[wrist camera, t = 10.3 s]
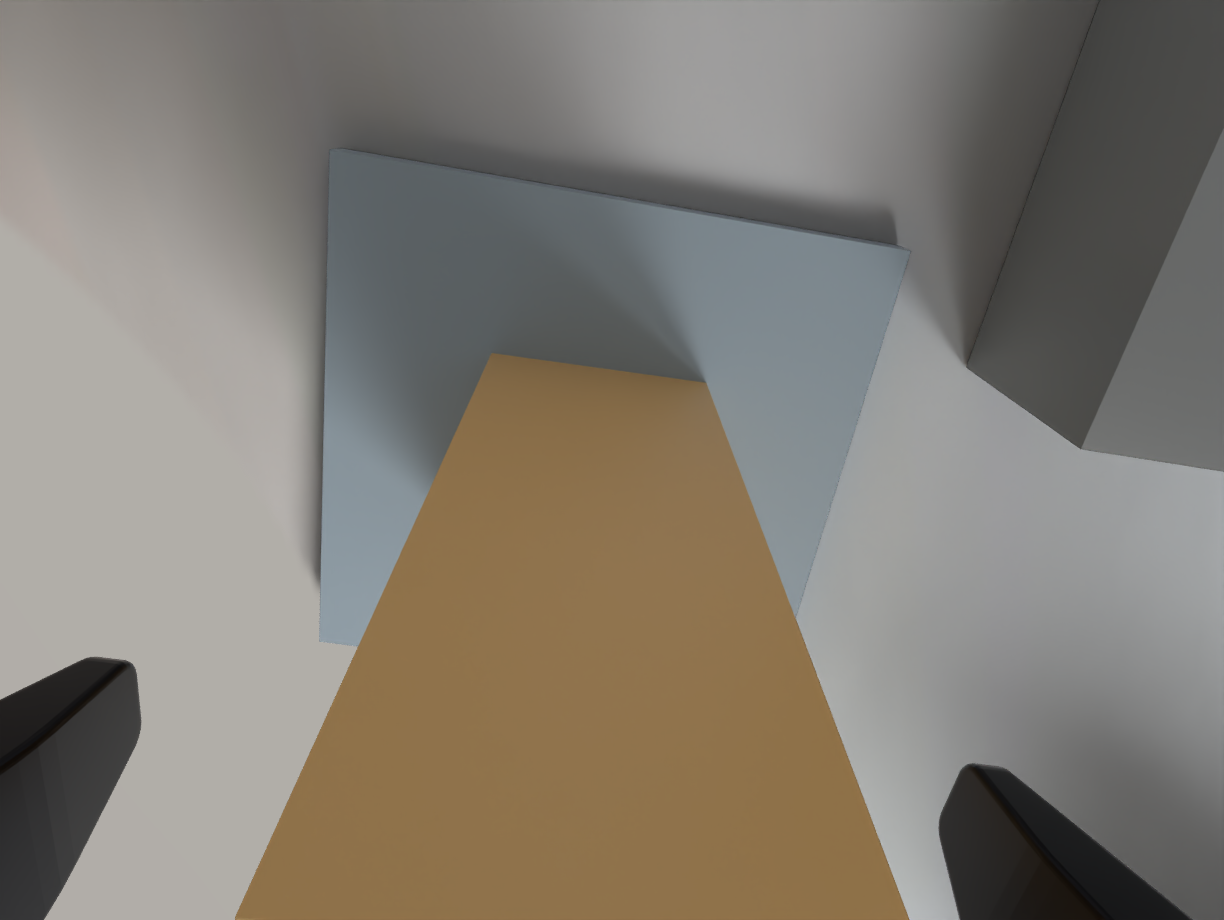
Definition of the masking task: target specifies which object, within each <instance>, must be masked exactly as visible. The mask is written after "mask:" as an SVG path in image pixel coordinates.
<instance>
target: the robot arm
mask: <svg viewBox="0 0 1224 920" xmlns="http://www.w3.org/2000/svg"><path fill="white" fill-rule="evenodd" d="M140 730H141V714H140V702H139V693H138V682H137V674H136V669H135V667H134V666H133V664H132V663H130V662H128V661H126V660H119V659H111V658H102V657H89V658H86V659H83V660H81V661H79V662H77V663H74V664H72V665H71V666H68V667H66V668H64V669H62V670H60V671H58V672H56V673H54V674H52V675H50V676H48V677H46V678H44V679H42V680H40V681H38V682H36V683H34V684H31V685H29V686H27V687H25V688H23V689H21V690H19V691H17V692H15V693H13V694H11V695H9V696H7V697H5V698H3V699H1V700H0V920H44V919H45V917H46V916H47V914H48V912H49V911H50V909H51V907H52V906H53V904H54V902H55V901H56V899H57V897H58V896H59V894H60V892H61V891H62V889H63V887H64V885H65V883H66V882H67V880H68V878H69V876H70V874H71V872H72V870H73V868H74V866H75V865H76V863H77V861H78V859H79V857H80V855H81V853H82V851H83V849H84V847H85V845H86V843H87V841H88V839H89V837H90V835H91V833H92V831H93V829H94V827H95V825H96V823H97V821H98V819H99V817H100V815H101V813H102V811H103V809H104V807H105V806H106V804H107V802H108V799H109V798H110V796H111V794H112V792H113V790H114V788H115V786H116V784H117V782H118V780H119V778H120V776H121V774H122V772H123V770H124V768H125V766H126V764H127V762H128V760H129V758H130V756H131V754H132V752H133V750H134V748H135V746H136V744H137V741H138V738H139V734H140ZM939 836H940V841H941V845H942V849H943V853H944V858H945V862H946V866H947V870H948V874H949V878H950V882H951V886H952V890H953V894H954V898H955V902H956V906H957V910H958V914H959V919H960V920H1192V919H1191V918H1190V917H1189V916H1188V915H1186V914H1185V913H1184V912H1183V911H1181V910H1180V909H1179V908H1178V907H1176V906H1175V905H1174V904H1173V903H1171V902H1170V901H1169V900H1168V899H1167V898H1165V897H1164V896H1163V895H1162V894H1160V893H1159V892H1158V891H1157V890H1155V889H1154V888H1153V887H1152V886H1150V885H1149V884H1148V883H1147V882H1146V881H1144V880H1143V879H1142V878H1141V877H1139V876H1138V875H1137V874H1136V873H1134V872H1133V871H1132V870H1131V869H1129V868H1128V867H1127V866H1126V865H1125V864H1123V863H1122V862H1121V861H1120V860H1118V859H1117V858H1116V857H1115V856H1113V855H1112V854H1111V853H1110V852H1108V851H1107V850H1106V849H1105V848H1104V847H1102V846H1101V845H1100V844H1099V843H1097V842H1096V841H1095V840H1094V839H1092V838H1091V837H1090V836H1089V835H1087V834H1086V833H1085V832H1084V831H1083V830H1081V829H1080V828H1079V827H1078V826H1076V825H1075V824H1074V823H1073V822H1071V821H1070V820H1069V819H1068V818H1066V817H1065V816H1064V815H1063V814H1062V813H1060V812H1059V811H1058V810H1057V809H1055V808H1054V807H1053V806H1052V805H1050V804H1049V803H1048V802H1047V801H1045V800H1044V799H1043V798H1042V797H1041V796H1039V795H1038V794H1037V793H1036V792H1034V791H1033V790H1032V789H1031V788H1029V787H1028V786H1027V785H1026V784H1024V783H1023V782H1022V781H1021V780H1020V779H1018V778H1017V777H1016V776H1015V775H1013V774H1012V773H1011V772H1010V771H1008V770H1007V769H1005V768H1002V767H999V766H991V765H983V764H975V763H972V764H967V765H966V766H965V767H963V768H962V769H961V771H960V773H959V775H958V777H957V779H956V781H955V784H954V786H953V788H952V790H951V792H950V794H949V797H948V799H947V801H946V803H945V805H944V807H943V810H942V812H941V815H940V819H939Z"/></svg>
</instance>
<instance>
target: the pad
mask: <svg viewBox="0 0 1224 920" xmlns="http://www.w3.org/2000/svg"><path fill="white" fill-rule="evenodd" d="M910 253H911V251H910V250H907V249H905V248H903V247H901V246H898V245H892V244H886V243H881V242H875V241H869V240H864V239H858V238H852V237H846V236H841V235H835V234H829V233H824V232H818V231H812V230H806V229H801V228H795V227H789V226H784V225H778V224H772V223H766V222H761V221H755V220H749V219H744V218H738V217H732V216H726V215H721V214H715V213H709V212H704V211H698V210H692V209H686V208H681V207H675V206H669V205H664V204H658V203H652V202H646V201H641V200H635V199H629V198H624V197H618V196H612V195H606V194H601V193H595V192H589V191H584V190H578V189H572V188H566V187H561V186H555V185H549V184H544V183H538V182H532V181H526V180H521V179H515V178H509V177H504V176H498V175H492V174H486V173H481V172H475V171H469V170H463V169H458V168H452V167H446V166H441V165H435V164H429V163H423V162H418V161H412V160H406V159H401V158H395V157H389V156H383V155H378V154H372V153H366V152H361V151H355V150H349V149H343V148H337V149H330V150H329V196H328V245H327V294H326V342H325V391H324V439H323V488H322V536H321V585H320V635H319V637H320V638H319V641H320V642H327V643H335V644H343V645H351V646H359V644H360V641H361V639H362V637H363V635H364V633H365V630H366V628H367V626H368V624H369V622H370V619H371V617H372V615H373V613H374V611H375V608H376V606H377V604H378V602H379V600H380V597H381V595H382V593H383V591H384V589H385V586H386V584H387V582H388V580H389V578H390V575H391V573H392V571H393V569H394V567H395V564H396V562H397V560H398V558H399V556H400V553H401V551H402V549H403V547H404V545H405V542H406V540H407V538H408V536H409V534H410V531H411V529H412V527H413V525H414V523H415V520H416V518H417V516H418V514H419V512H420V509H421V507H422V505H423V503H424V501H425V498H426V496H427V494H428V492H429V490H430V487H431V485H432V483H433V481H434V479H435V476H436V474H437V472H438V470H439V468H440V465H441V463H442V461H443V459H444V457H445V454H446V452H447V450H448V448H449V446H450V443H451V441H452V439H453V437H454V435H455V432H456V430H457V428H458V426H459V424H460V421H461V419H462V417H463V415H464V413H465V410H466V408H467V406H468V404H469V402H470V399H471V397H472V395H473V393H474V391H475V388H476V386H477V384H478V382H479V380H480V377H481V375H482V373H483V371H484V369H485V366H486V364H487V362H488V360H489V358H490V355H491V353H495V354H502V355H510V356H517V357H524V358H531V359H539V360H546V361H553V362H560V363H567V364H575V365H582V366H589V367H596V368H604V369H611V370H618V371H625V372H632V373H640V374H647V375H654V376H661V377H669V378H676V379H683V380H690V381H697V382H705V383H707V386H708V389H709V391H710V394H711V396H712V399H713V402H714V404H715V407H716V410H717V412H718V415H719V418H720V420H721V423H722V426H723V428H724V431H725V433H726V436H727V439H728V441H729V444H730V447H731V449H732V452H733V455H734V457H735V460H736V463H737V465H738V468H739V470H740V473H741V476H742V478H743V481H744V484H745V486H746V489H747V492H748V494H749V497H750V500H751V502H752V505H753V507H754V510H755V513H756V515H757V518H758V521H759V523H760V526H761V529H762V531H763V534H764V537H765V539H766V542H767V544H768V547H769V550H770V552H771V555H772V558H773V560H774V563H775V566H776V568H777V571H778V574H779V576H780V579H781V581H782V584H783V587H784V589H785V592H786V595H787V597H788V600H789V603H790V605H791V608H792V611H793V613H794V616H795V618H796V615H797V612H798V609H799V606H800V602H801V599H802V596H803V593H804V590H805V587H806V583H807V580H808V577H809V574H810V571H811V567H812V564H813V561H814V558H815V555H816V552H817V548H818V545H819V542H820V539H821V536H822V533H823V529H824V526H825V523H826V520H827V517H828V513H829V510H830V507H831V504H832V501H833V498H834V494H835V491H836V488H837V485H838V482H839V479H840V475H841V472H842V469H843V466H844V463H845V459H846V456H847V453H848V450H849V447H850V444H851V440H852V437H853V434H854V431H855V428H856V425H857V421H858V418H859V415H860V412H861V409H862V405H863V402H864V399H865V396H866V393H867V390H868V386H869V383H870V380H871V377H872V374H873V371H874V367H875V364H876V361H877V358H878V355H879V351H880V348H881V345H882V342H883V339H884V336H885V332H886V329H887V326H888V323H889V320H890V317H891V313H892V310H893V307H894V304H895V301H896V297H897V294H898V291H899V288H900V285H901V282H902V278H903V275H904V272H905V269H906V266H907V263H908V259H909V256H910Z"/></svg>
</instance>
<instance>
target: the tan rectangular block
mask: <svg viewBox="0 0 1224 920" xmlns="http://www.w3.org/2000/svg"><path fill="white" fill-rule="evenodd" d="M235 920H909V917H908V915H907V912H906V909H905V907H904V904H903V901H902V899H901V896H900V893H899V891H898V888H897V885H896V883H895V880H894V878H893V875H892V872H891V870H890V867H889V864H888V862H887V859H886V856H885V854H884V851H883V848H882V846H881V843H880V841H879V838H878V835H877V833H876V830H875V827H874V825H873V822H872V819H871V817H870V814H869V811H868V809H867V806H866V804H865V801H864V798H863V796H862V793H861V790H860V788H859V785H858V782H857V780H856V777H855V774H854V772H853V769H852V767H851V764H850V761H849V759H848V756H847V753H846V751H845V748H844V745H843V743H842V740H841V737H840V735H839V732H838V730H837V727H836V724H835V722H834V719H833V716H832V714H831V711H830V708H829V706H828V703H827V700H826V698H825V695H824V693H823V690H822V687H821V685H820V682H819V679H818V677H817V674H816V671H815V669H814V666H813V663H812V661H811V658H810V656H809V653H808V650H807V648H806V645H805V642H804V640H803V637H802V634H801V632H800V629H799V626H798V624H797V621H796V619H795V616H794V613H793V611H792V608H791V605H790V603H789V600H788V597H787V595H786V592H785V589H784V587H783V584H782V581H781V579H780V576H779V574H778V571H777V568H776V566H775V563H774V560H773V558H772V555H771V552H770V550H769V547H768V544H767V542H766V539H765V537H764V534H763V531H762V529H761V526H760V523H759V521H758V518H757V515H756V513H755V510H754V507H753V505H752V502H751V500H750V497H749V494H748V492H747V489H746V486H745V484H744V481H743V478H742V476H741V473H740V470H739V468H738V465H737V463H736V460H735V457H734V455H733V452H732V449H731V447H730V444H729V441H728V439H727V436H726V433H725V431H724V428H723V426H722V423H721V420H720V418H719V415H718V412H717V410H716V407H715V404H714V402H713V399H712V396H711V394H710V391H709V389H708V386H707V383H705V382H697V381H690V380H683V379H676V378H669V377H661V376H654V375H647V374H640V373H632V372H625V371H618V370H611V369H604V368H596V367H589V366H582V365H575V364H567V363H560V362H553V361H546V360H539V359H531V358H524V357H517V356H510V355H502V354H495V353H491V355H490V358H489V360H488V362H487V364H486V366H485V369H484V371H483V373H482V375H481V377H480V380H479V382H478V384H477V386H476V388H475V391H474V393H473V395H472V397H471V399H470V402H469V404H468V406H467V408H466V410H465V413H464V415H463V417H462V419H461V421H460V424H459V426H458V428H457V430H456V432H455V435H454V437H453V439H452V441H451V443H450V446H449V448H448V450H447V452H446V454H445V457H444V459H443V461H442V463H441V465H440V468H439V470H438V472H437V474H436V476H435V479H434V481H433V483H432V485H431V487H430V490H429V492H428V494H427V496H426V498H425V501H424V503H423V505H422V507H421V509H420V512H419V514H418V516H417V518H416V520H415V523H414V525H413V527H412V529H411V531H410V534H409V536H408V538H407V540H406V542H405V545H404V547H403V549H402V551H401V553H400V556H399V558H398V560H397V562H396V564H395V567H394V569H393V571H392V573H391V575H390V578H389V580H388V582H387V584H386V586H385V589H384V591H383V593H382V595H381V597H380V600H379V602H378V604H377V606H376V608H375V611H374V613H373V615H372V617H371V619H370V622H369V624H368V626H367V628H366V630H365V633H364V635H363V637H362V639H361V641H360V644H359V646H358V648H357V650H356V653H355V655H354V657H353V659H352V661H351V664H350V666H349V668H348V670H347V672H346V675H345V677H344V679H343V681H342V683H341V685H340V688H339V690H338V692H337V695H336V696H335V699H334V701H333V703H332V706H331V707H330V710H329V712H328V714H327V716H326V719H325V721H324V723H323V725H322V727H321V729H320V732H319V734H318V736H317V738H316V741H315V743H314V745H313V747H312V749H311V751H310V754H309V756H308V758H307V760H306V762H305V765H304V767H303V769H302V771H301V773H300V776H299V778H298V780H297V782H296V785H295V787H294V789H293V791H292V793H291V796H290V798H289V800H288V802H287V804H286V806H285V809H284V811H283V813H282V815H281V818H280V820H279V822H278V824H277V826H276V829H275V831H274V833H273V835H272V837H271V840H270V842H269V844H268V846H267V849H266V850H265V853H264V855H263V857H262V859H261V861H260V864H259V866H258V868H257V870H256V872H255V875H254V877H253V879H252V881H251V884H250V886H249V888H248V890H247V892H246V895H245V897H244V899H243V901H242V903H241V905H240V908H239V910H238V912H237V914H236V917H235Z"/></svg>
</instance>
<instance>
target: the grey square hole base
mask: <svg viewBox="0 0 1224 920" xmlns="http://www.w3.org/2000/svg"><path fill="white" fill-rule="evenodd" d="M966 368H967V369H969V370H970V371H972V372H973V373H974V374H976V375H977V376H979V377H980V378H982V379H983V380H984V381H986V382H987V383H989V384H990V385H991V386H993V387H994V388H996V389H997V390H998V391H1000V392H1001V393H1003V394H1004V395H1005V396H1007V397H1008V398H1010V399H1011V400H1012V401H1014V402H1015V403H1017V404H1018V405H1019V406H1021V407H1022V408H1024V409H1025V410H1026V411H1028V412H1029V413H1031V414H1032V415H1033V416H1035V417H1036V418H1038V419H1039V420H1040V421H1042V422H1043V423H1045V424H1046V425H1048V426H1049V427H1050V428H1052V429H1053V430H1055V431H1056V432H1057V433H1059V434H1060V435H1062V436H1063V437H1064V438H1066V439H1067V440H1069V441H1070V442H1071V443H1073V444H1074V445H1076V446H1077V447H1078V448H1080V449H1083V450H1089V451H1095V452H1102V453H1108V454H1115V455H1121V456H1127V457H1134V458H1140V459H1146V460H1153V461H1159V462H1165V463H1172V464H1178V465H1185V466H1191V467H1197V468H1204V469H1210V470H1216V471H1223V472H1224V0H1100V1H1099V4H1098V7H1097V9H1096V12H1095V15H1094V18H1093V20H1092V23H1091V26H1090V29H1089V31H1088V34H1087V37H1086V40H1085V42H1084V45H1083V48H1082V51H1081V53H1080V56H1079V59H1078V62H1077V64H1076V67H1075V70H1074V73H1073V75H1072V78H1071V81H1070V84H1069V86H1068V89H1067V92H1066V95H1065V97H1064V100H1063V103H1062V106H1061V108H1060V111H1059V114H1058V117H1057V119H1056V122H1055V125H1054V127H1053V130H1052V133H1051V136H1050V138H1049V141H1048V144H1047V147H1046V149H1045V152H1044V155H1043V158H1042V160H1041V163H1040V166H1039V169H1038V171H1037V174H1036V177H1035V180H1034V182H1033V185H1032V188H1031V191H1030V193H1029V196H1028V199H1027V202H1026V204H1025V207H1024V210H1023V213H1022V215H1021V218H1020V221H1019V224H1018V226H1017V229H1016V232H1015V235H1014V237H1013V240H1012V243H1011V246H1010V248H1009V251H1008V254H1007V257H1006V259H1005V262H1004V265H1003V268H1002V270H1001V273H1000V276H999V279H998V281H997V284H996V287H995V290H994V292H993V295H992V298H991V301H990V303H989V306H988V309H987V312H986V314H985V317H984V320H983V323H982V325H981V328H980V331H979V334H978V336H977V339H976V342H975V345H974V347H973V350H972V353H971V356H970V358H969V361H968V364H967V367H966Z"/></svg>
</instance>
